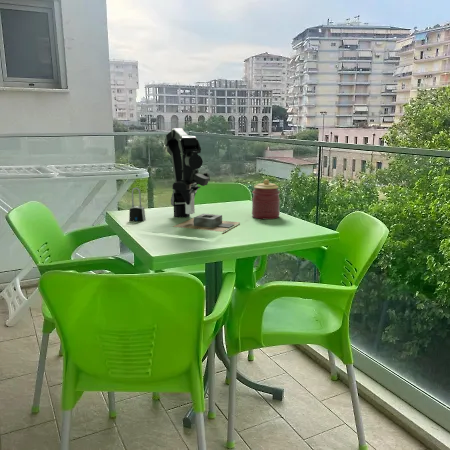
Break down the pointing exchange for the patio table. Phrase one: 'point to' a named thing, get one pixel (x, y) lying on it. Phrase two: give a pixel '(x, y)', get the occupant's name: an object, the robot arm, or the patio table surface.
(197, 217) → the chuck stand
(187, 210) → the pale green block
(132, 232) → the patio table surface
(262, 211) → the canister
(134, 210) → the padlock
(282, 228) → the patio table surface
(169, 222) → the patio table surface
